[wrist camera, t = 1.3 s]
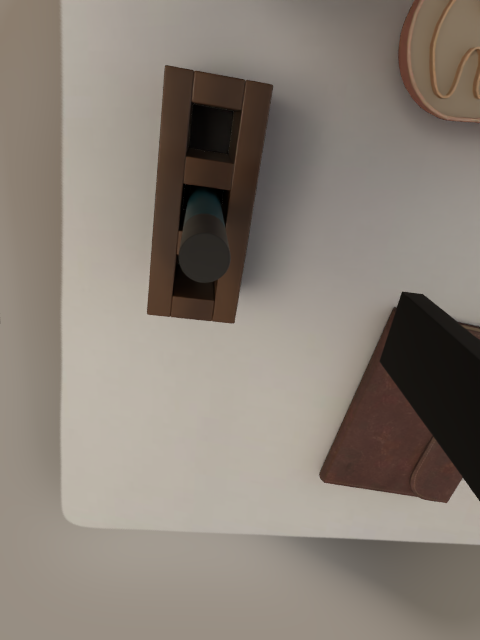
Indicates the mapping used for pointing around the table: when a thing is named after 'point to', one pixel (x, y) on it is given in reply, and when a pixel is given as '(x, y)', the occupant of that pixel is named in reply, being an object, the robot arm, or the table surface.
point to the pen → (204, 237)
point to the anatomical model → (443, 58)
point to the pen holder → (207, 171)
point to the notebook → (389, 440)
